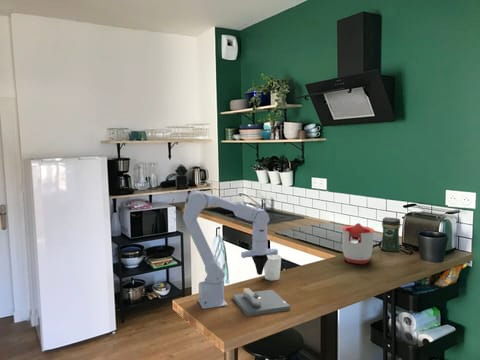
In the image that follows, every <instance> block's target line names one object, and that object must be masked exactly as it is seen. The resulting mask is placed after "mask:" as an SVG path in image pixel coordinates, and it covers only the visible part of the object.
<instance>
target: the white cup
mask: <svg viewBox="0 0 480 360" xmlns="http://www.w3.org/2000/svg"><path fill="white" fill-rule="evenodd" d="M267 257H268V260H267V262H266V264H265V266H264V268H263V272H264V279H265V280H268V281H278V280H279V279H280V277H281V276H280V275H281V266H282V265H281V264H282V256H281V255H279V254H278V255H275V254H274V255H267Z"/></svg>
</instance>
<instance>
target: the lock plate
mask: <svg viewBox="0 0 480 360" xmlns="http://www.w3.org/2000/svg"><path fill="white" fill-rule="evenodd" d="M253 292H254V293H255V294H254V297H255V298H258V297H259V296H261V297H262V301H261V307H260V308H254V307H252V304H251V303H250V302H249V301H248V300H247V299H246V298H245V296H244V295H243V293H235V294H232V299H233V301H234V302H235V303H236V305H237V306H238V308H240V310H241V311H242V312H243V314H244V315H245V316H246V317H252V316H259V315H264V314H265V315H266V314H272V313H278V312H285V311H290V310H291V305H290V304H289V303H288V302H287V301H285V299H283V298H282V297H281V296H280V295H279V294H278V293H277V292H276V291H275V290H273V289H266V290H259V291H253Z"/></svg>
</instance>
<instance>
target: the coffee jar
mask: <svg viewBox="0 0 480 360" xmlns="http://www.w3.org/2000/svg"><path fill="white" fill-rule="evenodd" d="M400 219H401V218H395V217H387V216H385V217H383V219H382V222H381V227H382V238H381V246H380V248H381V250H382V249H383V250H382V251H386V250H387V252H393V251H394V252H399V251H400V236H399V235H400V228H401V220H400ZM394 252H393V253H394Z"/></svg>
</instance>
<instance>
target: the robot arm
mask: <svg viewBox="0 0 480 360" xmlns="http://www.w3.org/2000/svg"><path fill="white" fill-rule="evenodd" d="M214 206H215V207H218V208H220V209H221V208H222V209H225V210H229V211H232V212H233V214H234V216H236V217H237V218H241V219H244V220H245V221H249V222H252V237H251V238H252V239H251V240H252V246H251V247H252V248H251V249H250V250H246V251H241V252H240V253H241V255H240V257H241V258H242V259H245V258H251V259H252V260H253V263H254V266H255V271H256V274H257V275H259V276H261V275H262V276H263V272H264V266H265V264H266V262H267V260H268V257H267V255H274V254H275V255H279V253H278V252H279V250H278V249H277V248H268V224H269V223H270V220H271V219H270V216H269V213H268V211H265V210H264V209H263V208H261V207H259V206H257V205H255V206H254V205H251V204H248V202H247V201H238V202H236V203H235V202H233V201H231V200H228V199H227V198H223V197H221V196H219V195H216V194H214V193H210V192H207V191H203V192H202V191H201V190H199V189H194V190H192V191H190V192H189V193H188V195H187V196H186V198H185V203H184V209H183V214H182V219H183V223H184V224H185V226H186V228H187V231H188V233H189V235H190V236H191V239H192V240H193V241H192V242H193V243H194V245H195V247H196V250H197V252H198V254H199V256H200V257H201V260H202V263H203V265H204V271H205V273H206V276H205V278H204V281H201V282H199V283H198V300H197V301H198V303H199V305H200V306H201V308H202V309H204V310H206V309H212V308H219V307H227V306H228V303H227V302H226V300H225V292H224V291H225V290H224V289H225V272H224V270H223V268H222V265H221V263H220V262H219V261H218V260H217V259H216V258H215V256H214V254H213V251H212V249H211V248H210V245H209V243H208V240H207V239H206V237H205V234H204V233H203V230H202V228H201V226H200V224H199V221H198V218H199V215H200V213H201V212H202V211H203V210H204V209H205V208H206V207H207V208H210V207H214Z"/></svg>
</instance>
